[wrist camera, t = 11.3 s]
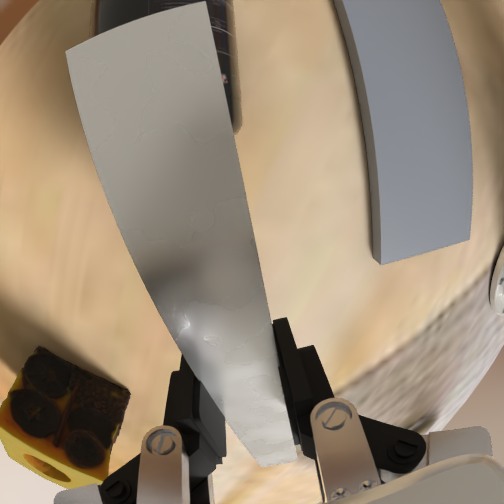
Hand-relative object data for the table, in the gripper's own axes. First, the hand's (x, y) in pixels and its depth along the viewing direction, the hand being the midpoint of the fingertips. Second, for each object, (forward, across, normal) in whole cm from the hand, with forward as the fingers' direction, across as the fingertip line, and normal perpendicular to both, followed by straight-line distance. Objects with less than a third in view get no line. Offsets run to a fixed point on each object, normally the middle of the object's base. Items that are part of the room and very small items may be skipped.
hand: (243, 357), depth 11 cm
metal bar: (+2, 0, 0) cm, 2 cm away
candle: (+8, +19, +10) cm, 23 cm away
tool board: (+8, -14, -12) cm, 20 cm away
